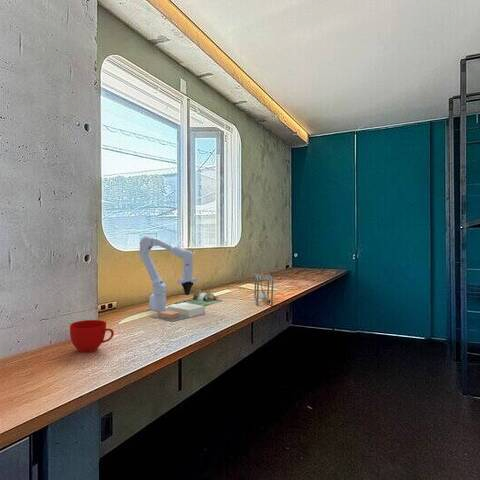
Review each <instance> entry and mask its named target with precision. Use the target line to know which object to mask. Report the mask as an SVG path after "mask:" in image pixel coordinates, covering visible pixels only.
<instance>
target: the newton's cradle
mask: <svg viewBox="0 0 480 480" xmlns="http://www.w3.org/2000/svg"><path fill="white" fill-rule="evenodd" d="M262 280H263V281H264V285H263V284H262ZM270 281H271V291H270ZM259 288H261V289H260V290H261V291H260V290H259ZM259 291H260V292H259ZM266 291H267V292H266ZM253 292H254V294H253V295H254V296H253V297H254V298H253V299H254V300H255V301H256V302H255V301H254V302H255V305H256V306H259V305H258V304H259V298H260V300H262V301H263V302H265V301H267V300H268V299H269V301H271V305H272V306H273V303H274V302H273V301H274V278H273V277H272V276H271V274H265V275H263V277H261V275H259V274H257V273H255V274H254V291H253ZM270 292H271V293H270ZM269 295H270V296H269ZM269 297H270V298H269ZM267 298H268V299H267ZM269 301H268V302H269ZM271 305H270V306H271Z"/></svg>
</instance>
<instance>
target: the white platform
mask: <svg viewBox="0 0 480 480" xmlns="http://www.w3.org/2000/svg"><path fill="white" fill-rule="evenodd" d="M166 308H167V310H170V311H175V312H180V315H181V316H186V317H188V318H193V317H195V316H199V315H203V314H206V306H201V305H195V304H189V303H180V304H172V305H166Z"/></svg>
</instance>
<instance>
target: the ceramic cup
mask: <svg viewBox="0 0 480 480" xmlns="http://www.w3.org/2000/svg"><path fill="white" fill-rule="evenodd" d="M107 331H109V332H110V334H111V335H110V337H109V338H106V339H105V337H106V332H107ZM114 332H115V331H114V330H113V328H110V327H108V328H107V322H106V321H104V320H99V319H98V320H97V319H87V320H80V321H75V322H73V323H70V325H69V335H70V336H69V338H70V340H71V343H72V346H73V347H74V348H75V349H77V351H78V352H79V353H84V354H86V353H92V352H95V351H97V350H98V349H99V347H100V346H102V344H103V343H106V342H109V341H110V340H112V338H113V337H114V334H115V333H114Z"/></svg>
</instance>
